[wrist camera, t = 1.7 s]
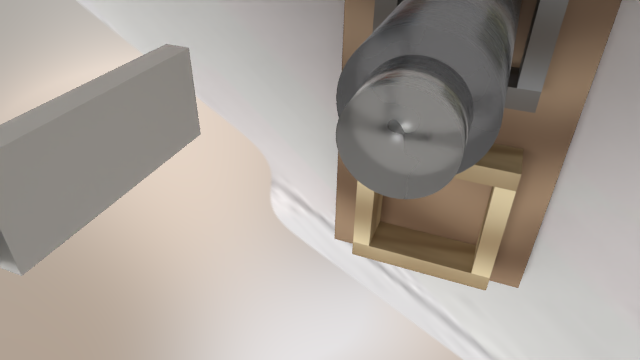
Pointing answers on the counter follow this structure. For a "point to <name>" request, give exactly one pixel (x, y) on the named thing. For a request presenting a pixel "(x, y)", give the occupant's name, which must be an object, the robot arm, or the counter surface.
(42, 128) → the robot arm
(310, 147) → the counter surface
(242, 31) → the counter surface
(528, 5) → the tool stand
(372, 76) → the grey cylinder
